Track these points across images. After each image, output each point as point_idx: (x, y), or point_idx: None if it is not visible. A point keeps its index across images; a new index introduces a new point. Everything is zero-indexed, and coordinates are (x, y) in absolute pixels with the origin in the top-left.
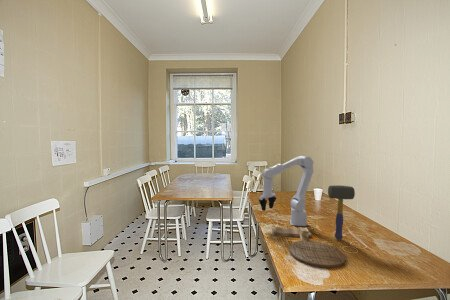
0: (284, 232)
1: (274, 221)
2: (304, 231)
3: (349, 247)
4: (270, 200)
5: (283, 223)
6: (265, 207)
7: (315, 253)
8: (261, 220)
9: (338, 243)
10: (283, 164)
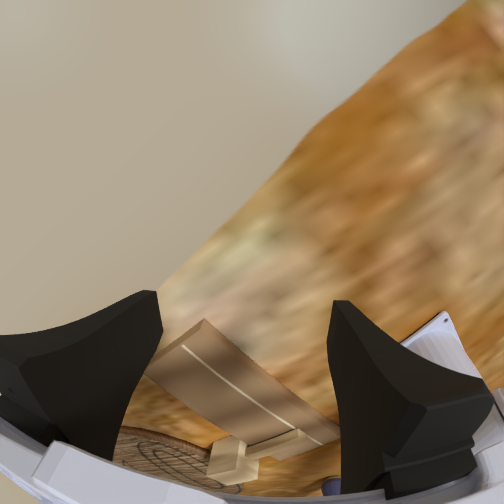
0: (195, 404)
1: (381, 238)
2: (214, 477)
3: (290, 494)
4: (361, 412)
5: (383, 308)
6: (136, 370)
7: (154, 472)
8: (317, 139)
9: (296, 484)
10: None
